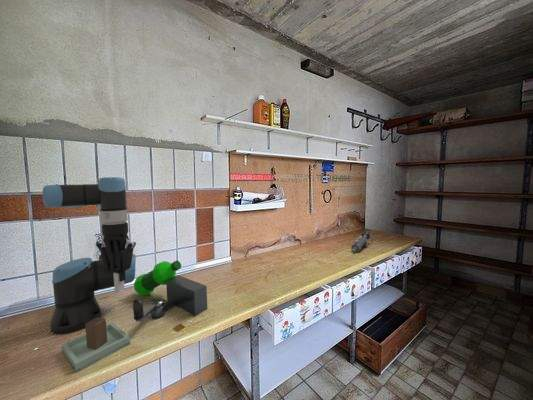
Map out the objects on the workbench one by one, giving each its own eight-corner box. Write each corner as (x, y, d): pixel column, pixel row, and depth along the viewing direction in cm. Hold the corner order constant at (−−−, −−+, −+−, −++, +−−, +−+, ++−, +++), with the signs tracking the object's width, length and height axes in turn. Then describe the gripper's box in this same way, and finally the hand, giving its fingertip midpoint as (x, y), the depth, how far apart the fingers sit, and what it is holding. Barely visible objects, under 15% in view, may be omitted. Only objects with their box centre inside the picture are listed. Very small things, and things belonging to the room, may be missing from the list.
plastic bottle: (151, 283, 116) (188, 261, 110) (144, 302, 108) (183, 280, 102) (134, 273, 112) (172, 250, 105) (125, 292, 103) (165, 268, 97)
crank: (155, 301, 94) (154, 283, 93) (166, 301, 93) (165, 284, 93) (129, 323, 79) (128, 302, 78) (143, 324, 78) (141, 303, 78)
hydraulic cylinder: (372, 240, 190) (371, 229, 188) (358, 259, 162) (357, 246, 160) (362, 239, 194) (362, 228, 193) (348, 257, 167) (347, 244, 165)
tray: (62, 351, 72) (61, 344, 72) (112, 328, 83) (112, 322, 83) (76, 372, 64) (75, 364, 64) (130, 343, 75) (129, 336, 75)
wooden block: (95, 350, 71) (93, 325, 71) (86, 347, 72) (84, 323, 72) (108, 341, 75) (106, 318, 75) (98, 339, 76) (97, 316, 76)
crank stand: (143, 312, 93) (141, 288, 93) (179, 296, 107) (178, 275, 106) (175, 333, 80) (173, 305, 79) (212, 311, 93) (211, 287, 92)
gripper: (88, 224, 75) (93, 294, 77) (124, 224, 74) (129, 295, 75) (106, 221, 83) (110, 284, 84) (140, 220, 81) (144, 285, 83)
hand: (119, 289), depth 80 cm, fingers closed
